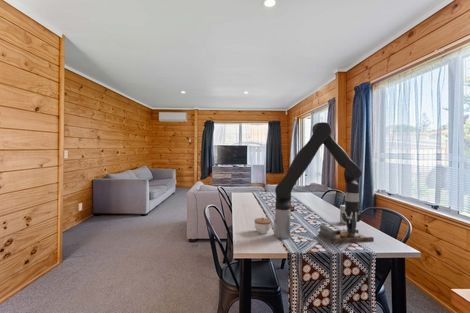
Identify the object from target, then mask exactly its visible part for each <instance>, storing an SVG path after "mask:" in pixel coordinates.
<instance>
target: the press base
mask: <svg viewBox="0 0 470 313" xmlns="http://www.w3.org/2000/svg"><path fill="white" fill-rule="evenodd" d="M340 231H343V229H338V230H337V229H336V230H334V229H333V228H331V227H328V226H327V225H325V224H324V225H322V224H321V225H319V231H318V235H319V236H320V237H322V238H323V239H324V240H326V241H327V242H329V243H330V244H343V243H345V244H346V243H361V242H362V243H363V242H364V243H365V242H374V239H375V238H374V237H373V236H365V235H363V234H360V233H359V229H357V228H356V231H355V233H357V234H359V235H361V237H357V238H349V237H348V238H340Z"/></svg>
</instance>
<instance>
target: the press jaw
mask: <svg viewBox="0 0 470 313" xmlns="http://www.w3.org/2000/svg"><path fill="white" fill-rule="evenodd" d="M356 229H357V223H356V220H355V219H353V218H352V219H351V229H348V228H347V227H346V228H343V229H342V230H343V231H347V232H348V237H349V238H357V237H361V235H362V234H361V235H359V234H360V233H359V234H357V233H355V231H356Z"/></svg>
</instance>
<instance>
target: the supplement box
mask: <svg viewBox="0 0 470 313" xmlns="http://www.w3.org/2000/svg"><path fill="white" fill-rule="evenodd" d="M339 207H340V208H339V223H342V224H345V225H347V222H345V221H344V220H343V218H342V216H341V212H342V213H343V212H344V211H345V204H340V206H339ZM346 216H347V214H346Z"/></svg>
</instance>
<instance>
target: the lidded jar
mask: <svg viewBox="0 0 470 313" xmlns="http://www.w3.org/2000/svg"><path fill="white" fill-rule="evenodd" d="M271 226H272V220H271V219H269V218H267V217H266V218H264V217H258V218H255V219H254V228H255V230H256V231H257V233H258V234H262V235H265V234H268V232H269V231H270V229H271V228H272V227H271Z"/></svg>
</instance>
